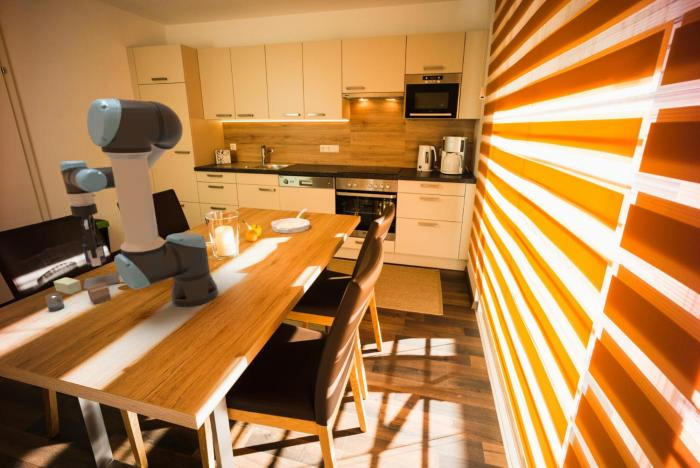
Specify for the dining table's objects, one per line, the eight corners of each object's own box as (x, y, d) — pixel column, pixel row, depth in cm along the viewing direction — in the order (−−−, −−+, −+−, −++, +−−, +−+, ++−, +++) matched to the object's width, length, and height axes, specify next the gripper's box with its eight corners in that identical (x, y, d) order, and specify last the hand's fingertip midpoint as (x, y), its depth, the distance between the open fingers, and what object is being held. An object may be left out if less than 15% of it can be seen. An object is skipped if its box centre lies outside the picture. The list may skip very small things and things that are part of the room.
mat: (119, 283, 130) (118, 281, 130) (83, 290, 124) (83, 289, 124) (118, 273, 139) (118, 272, 139) (85, 280, 133) (85, 278, 133)
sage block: (82, 290, 125) (79, 280, 124) (70, 294, 122) (67, 284, 120) (68, 286, 128) (65, 277, 127) (56, 291, 124) (53, 281, 123)
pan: (262, 233, 192) (261, 224, 190) (289, 215, 232) (289, 207, 231) (303, 236, 188) (302, 226, 186) (323, 217, 228) (323, 209, 226)
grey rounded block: (63, 309, 111) (60, 296, 110) (48, 313, 109) (43, 299, 108) (65, 304, 114) (61, 291, 113) (50, 308, 112) (45, 294, 111)
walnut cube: (111, 299, 118) (108, 287, 116) (94, 305, 114) (90, 292, 112) (107, 295, 121) (103, 282, 119) (90, 300, 117) (86, 287, 116)
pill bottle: (88, 262, 130) (82, 235, 127) (107, 259, 133) (101, 232, 130) (85, 267, 125) (78, 239, 122) (105, 264, 128) (98, 237, 125)
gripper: (94, 207, 117) (108, 268, 124) (96, 198, 132) (109, 253, 139) (67, 210, 113) (83, 273, 120) (72, 200, 128) (86, 257, 135)
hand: (97, 262), depth 129 cm, fingers closed on pill bottle, 6 cm apart
